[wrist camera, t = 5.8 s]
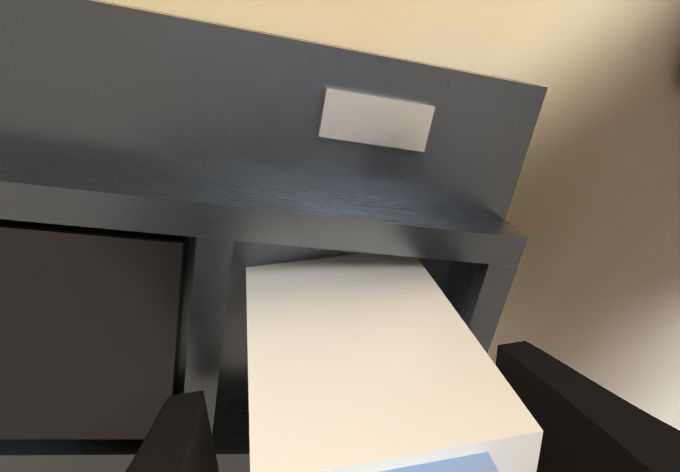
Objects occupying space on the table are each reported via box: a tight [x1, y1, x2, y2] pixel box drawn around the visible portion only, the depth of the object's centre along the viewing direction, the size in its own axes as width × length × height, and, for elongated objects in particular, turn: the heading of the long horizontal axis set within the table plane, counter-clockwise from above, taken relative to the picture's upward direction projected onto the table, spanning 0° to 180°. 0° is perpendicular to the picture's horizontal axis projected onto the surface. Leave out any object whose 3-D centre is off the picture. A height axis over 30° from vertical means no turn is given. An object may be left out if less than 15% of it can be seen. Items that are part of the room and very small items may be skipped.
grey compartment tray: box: [0, 0, 547, 472], centre depth 11 cm, size 20×13×3 cm, turn 79°
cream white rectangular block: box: [246, 253, 543, 472], centre depth 10 cm, size 4×4×7 cm
